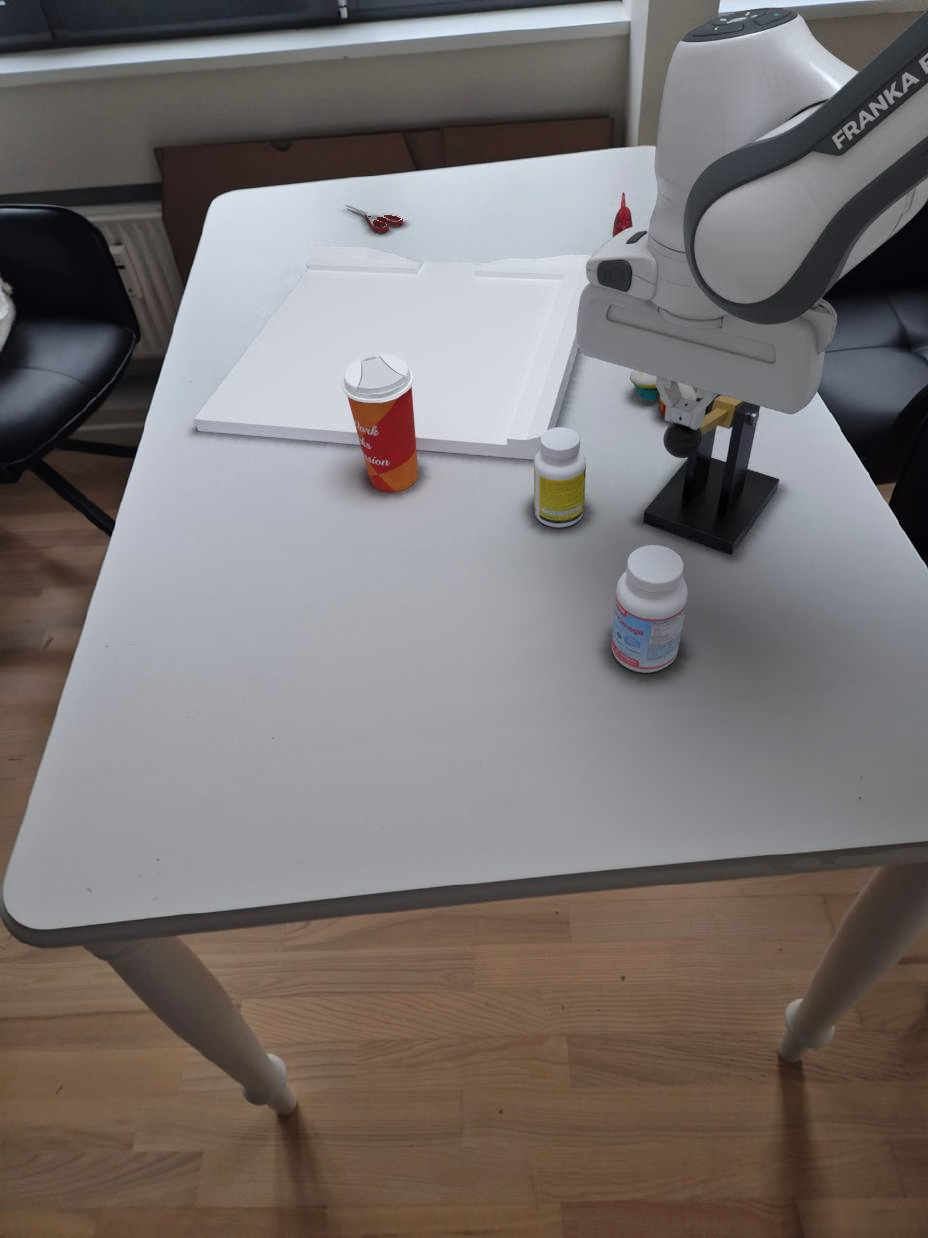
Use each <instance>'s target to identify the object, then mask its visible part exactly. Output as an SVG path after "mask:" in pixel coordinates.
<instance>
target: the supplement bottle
mask: <svg viewBox="0 0 928 1238" xmlns="http://www.w3.org/2000/svg"><path fill="white" fill-rule="evenodd" d="M540 447H541V450H540V451H539V452H538V453H537V454H536V456H535V459H534V460H533V504H534V506H533V507H534V510H533V511H534V515H535V517H536V519H537V520H538V521H539V522H540V523H542V524H544V525H546V526H548V527H552V528H565V527H570V526H572V525H574V524H577V523H578V522H579V521H580V520H581V519H582V518H583V515H584V512H585V498H586V497H585V495H586V494H585V492H586V474H587V473H586V471H587V461H586V456H585V454H584V452H582V450H581V436H580V435H579V433H578V432H577V431H576V430H574V429H572V428H570V427H563V426H557V427H555V428H552V429H549V430H547V431H546V432H544V433H543V434H542V436H541V444H540Z"/></svg>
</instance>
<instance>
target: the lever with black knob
mask: <svg viewBox="0 0 928 1238" xmlns="http://www.w3.org/2000/svg"><path fill="white" fill-rule="evenodd" d="M742 402H743V401H741V400H737V399H734V398H731V397H727V396H724V395H721V396H719V397H717V398H716V399H714V403H713V406H712V410H711V412H710V413H709V414H707V415H705V416H704V420H703V422H702V424H701V425H700V426H699V428H698V429H697V430H694V429H691V428H688V427H685V426H682V425H678V424H675V423H671V422H670V424H669V425H668V426H667V428H666V429H665V430H664V434H663V446H664V448H665V450H666V452H667V453H668V454H670V455H671V456H672V457H674V458H677V459H688V457H690V456H692V455H694V454H695V453H696V452H697V451H698V450H699V449H700V447H701V445H702V441H703V435H704V434H706V433H707V432H709V431H710V430H712V429H713V428H715V427H716V426H717V427H721V428H724V429H727V430H730V429H732V426H733V421H734V415H735V411H736V409H737V408H738V407H739V406H740V405H741V403H742ZM717 427H716V428H717Z"/></svg>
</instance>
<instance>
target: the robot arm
mask: <svg viewBox="0 0 928 1238" xmlns="http://www.w3.org/2000/svg"><path fill="white" fill-rule="evenodd" d="M660 102H661V103H660V108H659V116H658V124H657V131H656V139H655V140H656V142H655V152H654V163H653V165H654V169H653V170H654V176H655V180H656V188H657V189H656V190H657V191H656V192H657V194H656V200H655V201H656V202H655V205H654V207H653V211H652V213H651V215H650V219H649V224H645V225H638V226H633V227H631V228H627V229H625V230H624V231H622V232H620V233H619V234H617V235H616V236H614V237H613V236H612V237H611V238H610V239H609V240H607V241H606V242H605V243H603V244H602V245H601V246H600V247H599V248H598V249H597V250H596V251H595V252H594V253H593V254H591V255H592V256H591V257H590V258H589V260H588V261H587V264H586V276H587V279H588V281H589V282H590V283H589V284H588V285H587V286H586V287H585V288H584V289H583V291H582V293H581V296H580V301H579V307H578V314H577V325H576V342H577V344H578V346H579V347H578V349H579V350H580V351H581V353H582V354H583V356H585V357H588V358H592V359H595V360H596V359H597V360H599V361H603V362H606V363H610V364H614V365H615V366H620V367H624V368H627V369H629V370H637V371H641V372H644V373H647V374H651V375H654V376H657V377H656V387H657V389H658V394H659V396H660V395H661V397H662V400H663V402H664V404H665V405H666V411H665V415H664V421H665V422H669V423H670V424H671V423H675V424H678V425H682V426H685V427H688V428H691V429H694V430H697V429H698V428H699V426H700V425H701V424H702V422H703V420H704V416H705V409H706V407H707V406H708V405H709V404H710V403H711V402H712V400H713V399H714V398H715V397H716V396H717V395H718V394H720V395H724V396H727V397H731V398H734V399H737V400H741V401H744V402H748V403H751V404H755V405H758V406H760V407H761V408H762V407H763V408H765V409H769V410H773V411H775V412H779V413H782V414H783V413H784V414H785V415H795V414H797V413H799V412H800V411H802V410H803V409H805V408H806V407H807V406H808V405H809V404H810V403H811V402H812V401H813V399H814V397H815V396H816V395H817V392H818V390H819V388H820V385H821V381H822V376H823V372H824V371H823V370H824V363H825V353H826V350H827V349H829V347H830V345H831V344H832V343H833V339H834V336H835V331H836V328H837V324H838V313H837V312H836V310H835V309H834V307H833V306H832V305H831V303H829V302H828V301H827V300H825V299H823V297H824V296H825V295H826V294H827V293H828V292H829V291H830V290H831V289H832V288H833V287H834V286H835V284H836V283H837V282H838V281H840V280H841V279H843V277H844V276H846V274H848V273H850V271H852V270H853V269H854V268H855V267H856V266H858V265H859V264H861V262H862V261H864V260H866V259H867V258H868V257H869V256H870V255H872V253H874V252H875V251H876V250H877V249H878V248H879V247H881V246H882V245H883V244H885V242H887V241H888V240H889V239H891V238H892V237H893V236H895V234H897V233H898V232H899V231H900V230H902V228H904V227H905V226H906V225H907V224H908V223H909V222H910V221H911V220H912V219H913V218H915V217H916V216H917V215H918V214H919V213H920V211H922V209H923V208H924V207H925V205H926V204H927V203H928V8H926V9H925V10H924V11H923V12H922V13H921V14H920V15H919V16H918V17H917V18H916V19H914V21H912V22H911V23H910V24H909V25H908V26H907V27H906V28H905V29H904V30H902V31H901V32H900V33H899V34H898V35H897V36H895V38H894V39H893V40H892V41H891V42H890V43H888V44H887V45H886V46H885V47H884V48H883V49H882V50H881V51H880V52H878V53H877V54H876V55H875V56H874V57H873V58H872V59H871V60H870V61H869V62H868V63H867V64H865V65H864V67H862V68H861V69H860V70H859V71H858V70H857V69H854V68H853V67H851V66H850V65H848V64H847V63H845V62H843V61H842V60H840V59H839V58H838V57H837V56H835V55H834V54H832V53H831V52H830V51H829V50H828V49H827V48H825V47H824V46H823V45H822V44H821V43H820V42H819V41H818V40H817V39H816V38H815V36H814V35H813V34H812V32H811V30H810V28H809V26H808V24H807V23H806V21H805V19H804V18H803V16H801V14H799V13H797V12H796V11H794V10H789V9H785V8H784V7H759V8H753V9H745V10H741V11H735V13H731V14H727V15H720V16H718V17H716V18H714V19H711V20H708V21H706V22H704V23H703V24H700V25H699V26H697V27H695V28H693V29H692V30H691V31H689V32H688V33H686V34H685V35H684V37H683V38H682V39H681V40H680V41H678V43H677V45H676V47H675V48H674V51H673V54H672V56H671V59H670V61H669V64H668V68H667V72H666V76H665V81H664V86H663V91H662V96H661V101H660ZM677 382H679V383H682V384H686V385H689V386H692V387H696V388H697V394H696V396H697V397H698V398H702V399H701V401H700V402H697V401H694V400H690V399H687V398H684V397H682V394H681V392H680V389H679V386H678V383H677Z"/></svg>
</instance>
